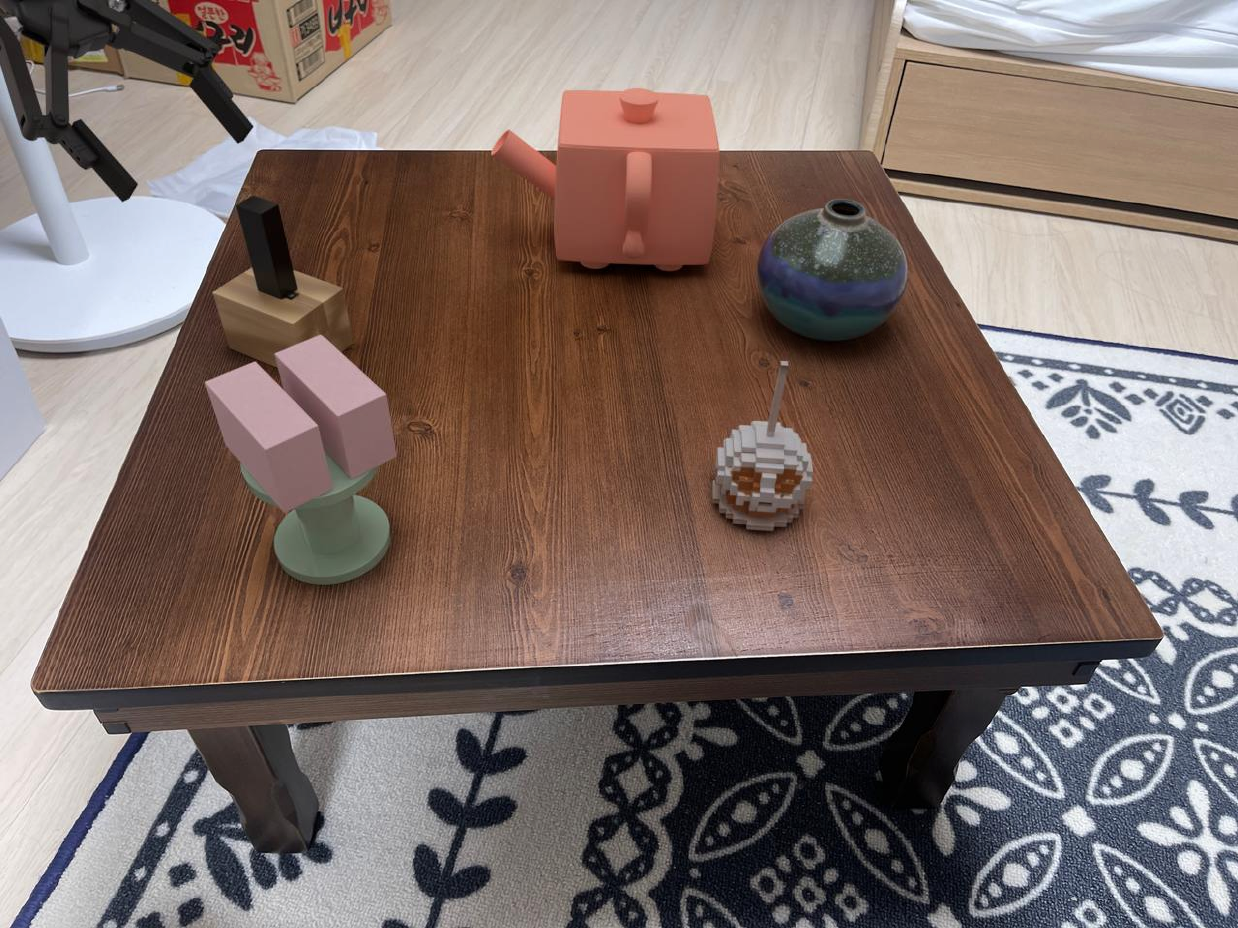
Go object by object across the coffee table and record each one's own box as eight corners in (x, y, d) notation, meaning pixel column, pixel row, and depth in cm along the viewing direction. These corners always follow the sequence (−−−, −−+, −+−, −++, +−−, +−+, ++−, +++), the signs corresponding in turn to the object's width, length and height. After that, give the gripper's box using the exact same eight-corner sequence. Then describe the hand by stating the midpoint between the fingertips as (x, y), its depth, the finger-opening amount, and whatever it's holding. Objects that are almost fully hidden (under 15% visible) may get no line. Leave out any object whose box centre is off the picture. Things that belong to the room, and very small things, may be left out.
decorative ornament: (712, 531, 78) (735, 392, 68) (710, 467, 84) (731, 330, 73) (805, 537, 78) (842, 399, 68) (797, 473, 84) (830, 336, 73)
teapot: (487, 291, 103) (476, 134, 90) (503, 193, 119) (496, 49, 107) (713, 298, 104) (733, 143, 91) (698, 199, 120) (714, 57, 108)
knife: (298, 357, 93) (263, 214, 82) (270, 345, 94) (232, 204, 83) (313, 345, 94) (281, 204, 84) (285, 334, 95) (250, 194, 85)
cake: (284, 513, 64) (265, 449, 60) (225, 445, 69) (203, 381, 65) (397, 456, 69) (386, 393, 65) (334, 396, 73) (321, 333, 69)
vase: (903, 367, 96) (939, 253, 86) (753, 358, 96) (773, 243, 87) (880, 285, 107) (910, 176, 98) (746, 277, 107) (763, 167, 98)
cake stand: (308, 611, 70) (281, 521, 64) (247, 535, 76) (216, 444, 69) (421, 547, 76) (406, 457, 69) (356, 480, 81) (337, 390, 74)
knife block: (306, 380, 90) (292, 323, 86) (228, 348, 93) (211, 292, 89) (353, 343, 95) (343, 288, 90) (278, 314, 98) (264, 259, 93)
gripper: (119, -55, 90) (272, 134, 95) (-141, 20, 73) (63, 241, 79) (141, -109, 84) (302, 93, 90) (-133, -42, 68) (85, 200, 74)
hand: (191, 163), depth 84 cm, fingers open, 13 cm apart
